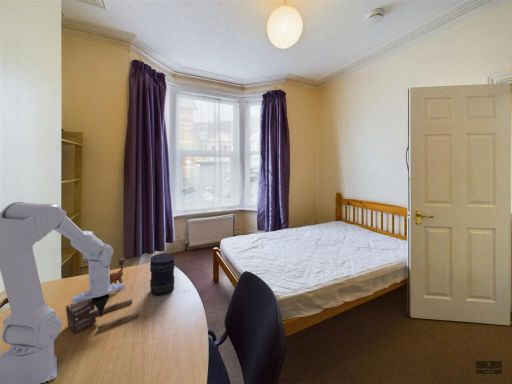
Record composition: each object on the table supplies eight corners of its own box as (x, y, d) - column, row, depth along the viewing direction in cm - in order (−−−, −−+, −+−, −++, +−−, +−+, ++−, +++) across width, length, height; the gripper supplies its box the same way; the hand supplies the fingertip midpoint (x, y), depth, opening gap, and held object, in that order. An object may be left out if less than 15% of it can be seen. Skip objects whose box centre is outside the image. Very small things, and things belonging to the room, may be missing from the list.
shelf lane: (98, 331, 71) (98, 327, 70) (94, 314, 79) (94, 310, 79) (139, 316, 79) (139, 312, 79) (131, 302, 87) (131, 298, 87)
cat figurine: (88, 310, 82) (85, 275, 80) (77, 305, 84) (74, 272, 83) (131, 285, 99) (129, 257, 97) (121, 282, 101) (119, 254, 99)
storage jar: (173, 282, 103) (174, 252, 102) (175, 293, 94) (175, 260, 93) (150, 286, 99) (150, 254, 97) (149, 298, 90) (149, 263, 89)
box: (74, 334, 69) (72, 313, 68) (67, 326, 72) (65, 306, 71) (96, 322, 74) (94, 302, 73) (89, 315, 77) (87, 296, 76)
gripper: (121, 267, 82) (122, 301, 83) (71, 279, 72) (72, 318, 73) (125, 275, 77) (126, 311, 78) (72, 288, 67) (73, 329, 68)
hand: (100, 315), depth 75 cm, fingers closed
